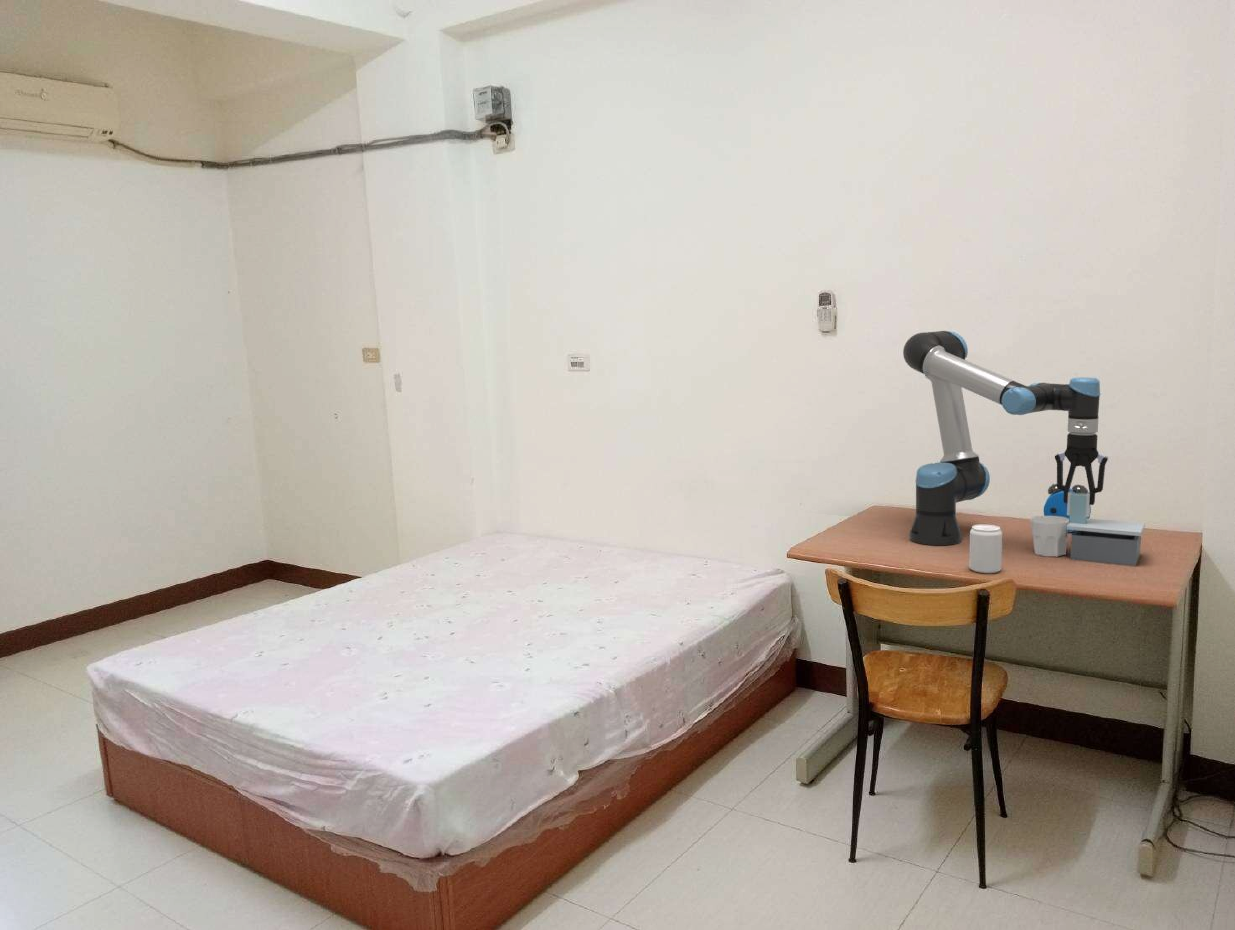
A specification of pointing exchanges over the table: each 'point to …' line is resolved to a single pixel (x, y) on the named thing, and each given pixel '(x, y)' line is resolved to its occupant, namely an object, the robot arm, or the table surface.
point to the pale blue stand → (1098, 520)
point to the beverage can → (985, 548)
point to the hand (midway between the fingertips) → (1078, 514)
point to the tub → (1105, 547)
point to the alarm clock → (1060, 501)
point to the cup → (1049, 535)
